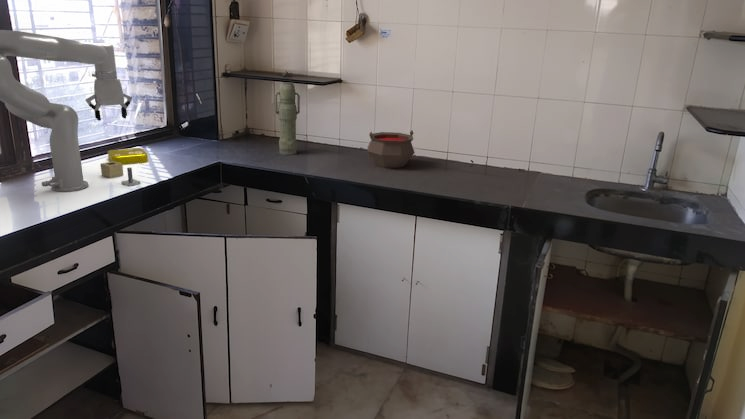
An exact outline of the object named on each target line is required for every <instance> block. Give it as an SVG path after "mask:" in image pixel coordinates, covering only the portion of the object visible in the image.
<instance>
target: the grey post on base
mask: <svg viewBox="0 0 745 419" xmlns="http://www.w3.org/2000/svg"><path fill="white" fill-rule="evenodd" d="M132 168H133V167H127V168H126V170H127V180H121V185H123V186H127V187H132V186H133V187H134V186H136V185H140V184H141V181H140V180H137V179H134V178H133V170H132Z"/></svg>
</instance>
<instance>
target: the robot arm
mask: <svg viewBox="0 0 745 419" xmlns="http://www.w3.org/2000/svg"><path fill="white" fill-rule="evenodd" d="M8 56H9V57H18V58H23V59H24V58H26V59H35V60H43V61H52V62H60V63H61V62H63V63H65V62H66V63H68V62H69V63H79V64H87V65H94V72H92V73H91V77H93V78H95V79H94V84H93V85H94V86H93V87H94V88H93V92H94V94H93V95H91V96H89V97H87V98H86V99H85V102H86V103H87V105H88V106H89V107H90V108H91V109H93V110H94V116H95V119H96V120H97V121H99V122H100V121H101V120H102V118H101V111H100V110H99V109H100V108H101V106H102V107H103V106H105V107H106V106H119V105H120V107H121V108H120V110H121V118H122V119H127V117H128V113H127V111H128V110H127V109H128V107H129V106H130V105H131V103H132V100H133V96H130V95H128V94H125V93H124V91H123V90H124V89H123V87H122V83H121V80H120V79H119V78H118V74H117V65H116V56H115V49H114V45H113V44H111V43H106V42H97V43H96V42H95V43H93V42H92V43H91V42H88V41H87V42H85V41H79V40H73V39H67V38H63V37H58V36H51V35H46V34H40V33H32V32H27V31H21V30H11V29H10V30H7V29H0V101H1V102H2V103H4V106H5V108H6V109H7V110H8V111H9V112H10V113H11V114H12V115H14V116H16V117H18V118H20V119H22V120H25V121H27V122H29V123H31V124H34V125H36V126H38V127H40V128H44V129H45V128H46V129H51V131H50V135H49V147H50V154H51V159H52V160H51V162H52V167H53V174H54V176H51V179H49V180H44V181H41V186H42V187H43V188H44V187H45V188H46V187H51V190H53V191H55V192H56V191H57V192H74V191H76V192H77V191H80V190H83V189H86V188H88V187H89V182H88V181H87V180H84V175H83V174H84V173H83V165H82V159H81V152H80V144H79V134H78V133H79V132H78V129H79V117H78V114H77V111H76V110H75V109H74V108H73V107H71V106H69V105H66V104H62V103H54V102H50V100H49V99H48V98H47V97H46V96H45V95H44V94H42V93H41V92H39V91H37V90H35V89H33V88H30V87H29V86H27V85H25V84H23V83H21V82H20V81H18V80H17V79H16V78H15V76H14V74H13V69H12V64H11V61H10V60H9V59H8V58H7V57H8ZM125 98H126V101H125ZM93 100H94V102H95V104H93V103H92V101H93Z"/></svg>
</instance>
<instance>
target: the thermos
mask: <svg viewBox="0 0 745 419" xmlns="http://www.w3.org/2000/svg"><path fill="white" fill-rule="evenodd" d="M278 95H279V106H278ZM296 96H297V105H296ZM300 97H301V95H300V94H299V93H298V92H296V88H295V84H294V83H293V82H291V81H290V82H289V81H287V82H285V81H284V82H282V83H280V86H279V91H277V92H276V93H275V94H274V98H275V99H274V100H275V102H274V103H275V105H274V106H275V114H277V115H278V119H279V141H278V148H279V149H278V150H279V152H278V154H280V155H283V156H295V155H297V153H298V152H297V151H298V150H297V149H298V142H297V124H296V123H297V119H298V118H297V117H298V116H297V115H298V114H300V111H301V110H300V108H301V107H300V104H301V100H300V99H301V98H300Z"/></svg>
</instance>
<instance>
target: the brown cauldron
mask: <svg viewBox="0 0 745 419" xmlns="http://www.w3.org/2000/svg"><path fill="white" fill-rule="evenodd" d="M413 135H414V131H413V130H412V129H411V130H410V132H409V134H408V133H407V134H406V133H403V132H392V131H391V132H388V131H387V132H385V131H380V132H375V133H373V132H372V131H370V132H369V134H368V136H369V138H370V141H369V143H368V146H367V153H368V154H369V156H370V158H371V159H372V161H373V163H375V165H376V166H378V167H381V168H385V169H387V168H389V169H390V168H391V169H399V168H402V167H405V166H406V165H407V163H408V162H409V161H410V159H411V158H412V157H413V156H414V155H415V154H416V153H415V149H414V147H413V143H412V141H413V140H414V136H413Z"/></svg>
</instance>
